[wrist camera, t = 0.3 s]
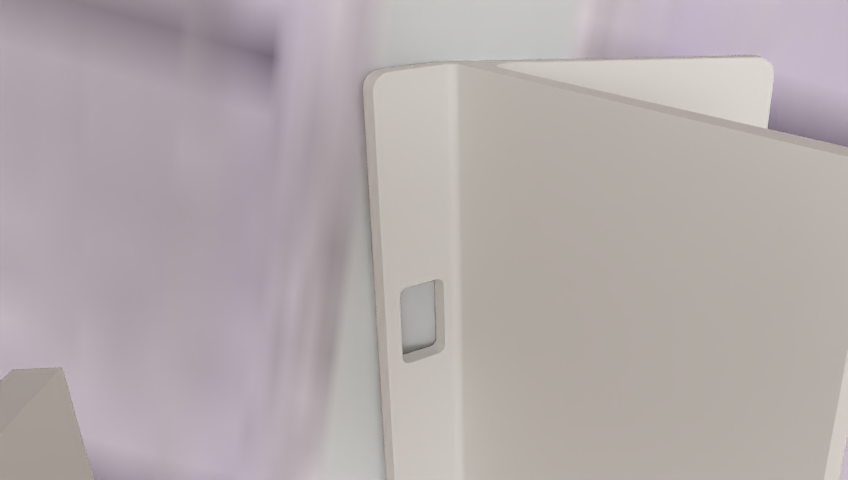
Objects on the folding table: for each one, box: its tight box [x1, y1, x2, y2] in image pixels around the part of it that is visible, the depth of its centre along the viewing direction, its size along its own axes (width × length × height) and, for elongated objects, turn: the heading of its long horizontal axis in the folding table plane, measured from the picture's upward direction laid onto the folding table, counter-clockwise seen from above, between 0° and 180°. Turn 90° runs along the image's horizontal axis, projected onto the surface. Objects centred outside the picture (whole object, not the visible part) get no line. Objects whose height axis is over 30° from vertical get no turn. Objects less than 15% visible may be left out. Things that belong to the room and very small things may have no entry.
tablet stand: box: [363, 55, 848, 480], centre depth 34 cm, size 18×25×17 cm
